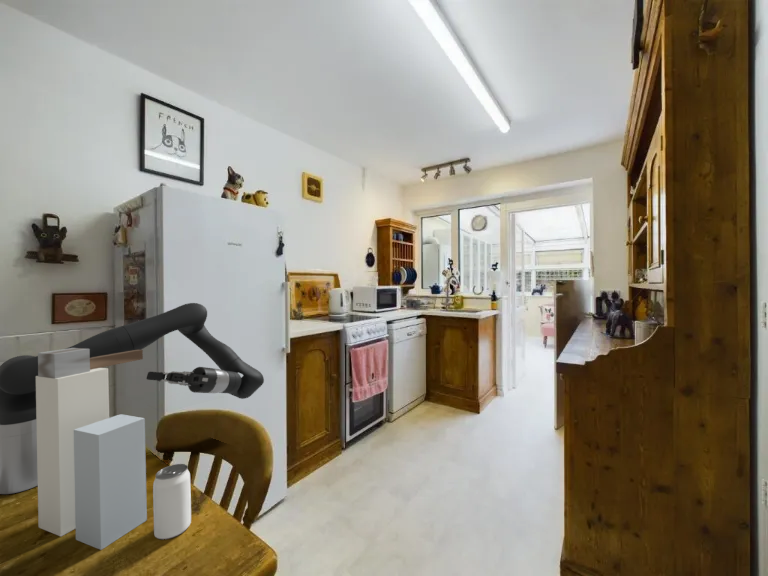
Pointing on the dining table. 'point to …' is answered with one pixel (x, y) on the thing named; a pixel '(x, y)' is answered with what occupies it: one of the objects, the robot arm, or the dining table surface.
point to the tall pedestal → (64, 440)
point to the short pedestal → (109, 479)
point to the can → (171, 501)
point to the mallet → (79, 361)
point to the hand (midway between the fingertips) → (157, 376)
